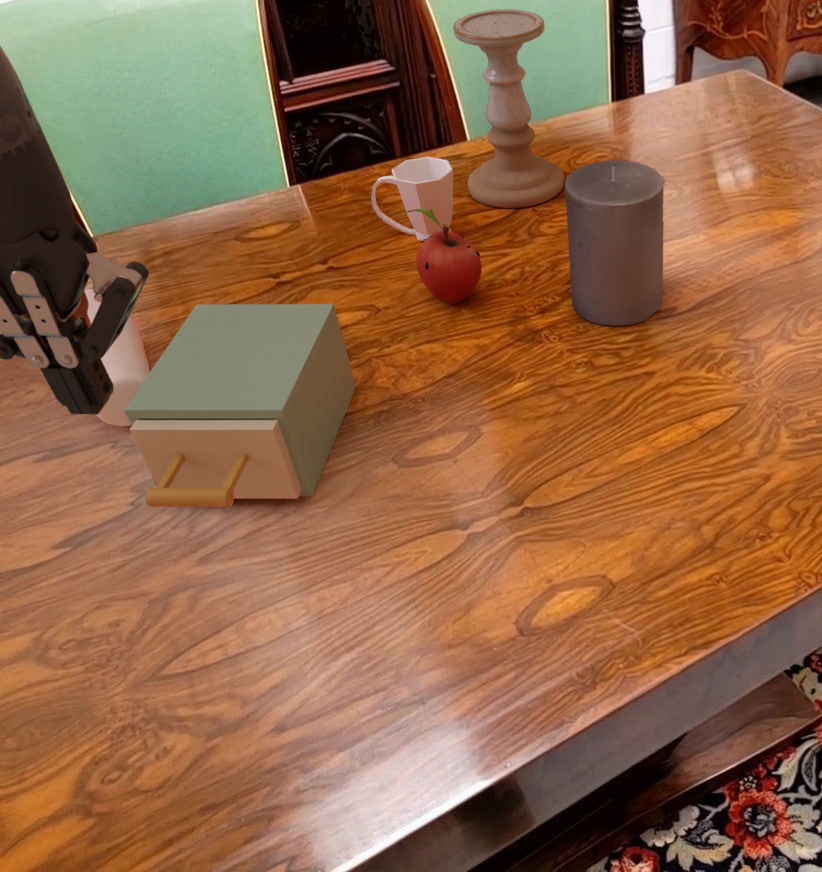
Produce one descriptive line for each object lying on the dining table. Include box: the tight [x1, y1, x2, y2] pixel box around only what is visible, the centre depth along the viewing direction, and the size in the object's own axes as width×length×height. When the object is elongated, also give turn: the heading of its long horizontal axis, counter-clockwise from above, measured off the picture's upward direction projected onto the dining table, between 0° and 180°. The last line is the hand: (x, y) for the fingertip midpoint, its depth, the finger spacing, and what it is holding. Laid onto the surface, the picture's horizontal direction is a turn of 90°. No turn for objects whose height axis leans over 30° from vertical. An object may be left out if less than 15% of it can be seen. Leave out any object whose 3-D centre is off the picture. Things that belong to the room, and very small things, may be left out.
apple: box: [402, 208, 483, 305], centre depth 97 cm, size 8×7×10 cm
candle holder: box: [452, 8, 565, 209], centre depth 113 cm, size 12×12×20 cm
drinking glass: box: [84, 288, 151, 427], centre depth 87 cm, size 7×7×15 cm
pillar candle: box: [564, 159, 666, 327], centre depth 94 cm, size 10×10×15 cm
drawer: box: [129, 419, 302, 508], centre depth 77 cm, size 19×11×7 cm, turn 179°
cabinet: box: [124, 303, 357, 497], centre depth 80 cm, size 15×12×9 cm
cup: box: [370, 156, 454, 242], centre depth 108 cm, size 7×10×8 cm
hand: (91, 405), depth 57 cm, fingers closed
